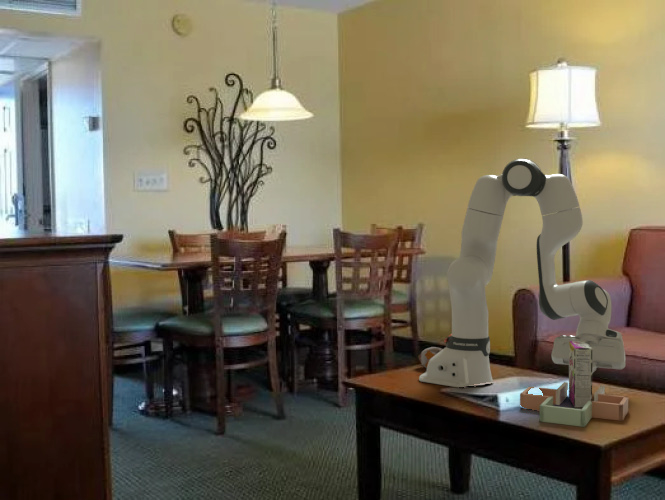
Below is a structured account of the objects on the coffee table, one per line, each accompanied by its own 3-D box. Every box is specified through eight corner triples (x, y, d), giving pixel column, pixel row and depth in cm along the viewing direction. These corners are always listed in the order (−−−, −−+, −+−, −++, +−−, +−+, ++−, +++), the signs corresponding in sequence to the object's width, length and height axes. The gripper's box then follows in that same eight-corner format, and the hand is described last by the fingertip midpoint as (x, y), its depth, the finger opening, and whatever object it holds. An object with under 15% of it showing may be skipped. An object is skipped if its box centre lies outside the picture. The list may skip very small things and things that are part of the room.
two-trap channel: (509, 417, 203) (510, 402, 202) (537, 393, 229) (537, 379, 229) (616, 430, 191) (617, 414, 190) (633, 403, 217) (633, 389, 217)
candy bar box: (567, 398, 223) (568, 340, 222) (585, 398, 223) (586, 340, 222) (573, 408, 212) (574, 347, 211) (592, 408, 212) (593, 347, 211)
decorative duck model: (418, 345, 273) (462, 344, 270) (419, 367, 273) (463, 367, 269) (414, 348, 258) (460, 348, 255) (414, 371, 258) (461, 371, 255)
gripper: (553, 328, 234) (545, 367, 226) (626, 333, 225) (621, 374, 217) (556, 341, 239) (549, 379, 231) (628, 346, 229) (623, 387, 221)
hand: (584, 377), depth 224 cm, fingers closed
